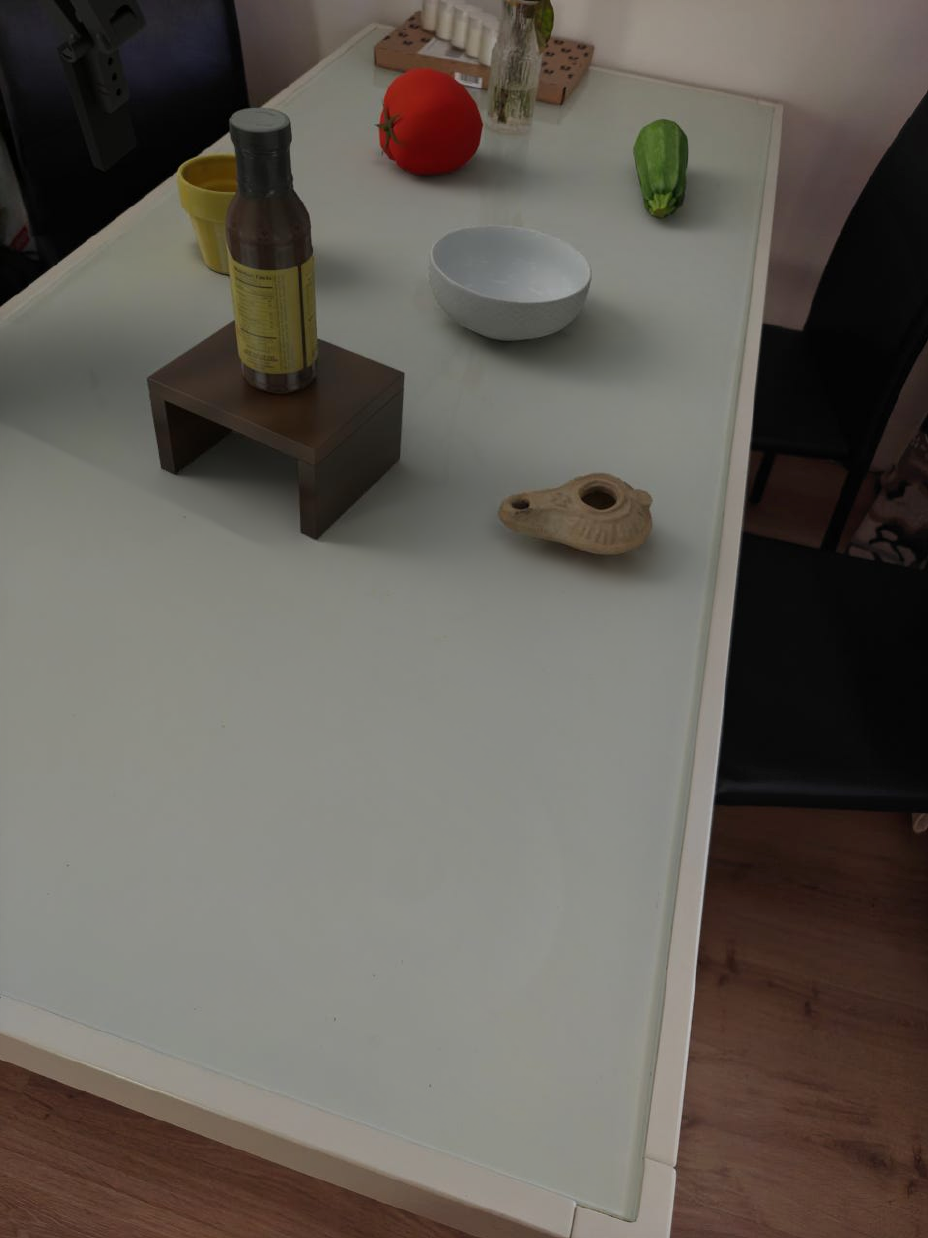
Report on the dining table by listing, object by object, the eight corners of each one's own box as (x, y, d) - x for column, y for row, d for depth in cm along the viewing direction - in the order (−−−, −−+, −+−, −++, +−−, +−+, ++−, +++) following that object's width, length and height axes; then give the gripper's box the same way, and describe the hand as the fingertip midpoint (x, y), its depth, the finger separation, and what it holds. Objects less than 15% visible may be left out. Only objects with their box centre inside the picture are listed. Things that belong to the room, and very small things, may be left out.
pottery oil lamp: (486, 501, 85) (523, 427, 82) (608, 551, 88) (647, 481, 85) (498, 539, 77) (539, 459, 74) (631, 593, 80) (675, 517, 78)
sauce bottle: (284, 345, 83) (273, 91, 69) (334, 378, 80) (333, 121, 66) (221, 371, 80) (195, 109, 65) (271, 407, 77) (255, 142, 62)
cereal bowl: (611, 345, 105) (625, 283, 100) (477, 380, 98) (485, 315, 93) (524, 271, 115) (533, 211, 109) (397, 298, 108) (400, 235, 103)
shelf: (160, 468, 85) (146, 377, 78) (254, 397, 93) (248, 309, 86) (316, 540, 80) (314, 450, 74) (400, 459, 88) (405, 372, 82)
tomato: (460, 176, 138) (375, 192, 133) (439, 77, 134) (350, 89, 129) (506, 155, 127) (415, 172, 122) (484, 46, 123) (390, 58, 118)
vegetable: (681, 102, 133) (687, 164, 120) (692, 154, 138) (699, 219, 124) (627, 121, 136) (627, 183, 122) (640, 172, 140) (642, 237, 127)
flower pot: (248, 230, 115) (242, 143, 108) (301, 267, 110) (298, 179, 103) (169, 253, 110) (157, 163, 103) (221, 293, 105) (212, 202, 98)
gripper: (156, -367, 36) (242, 155, 54) (-329, -523, 41) (-99, 4, 59) (11, -295, 33) (155, 235, 51) (-497, -474, 38) (-198, 67, 56)
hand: (19, 111), depth 55 cm, fingers open, 13 cm apart
